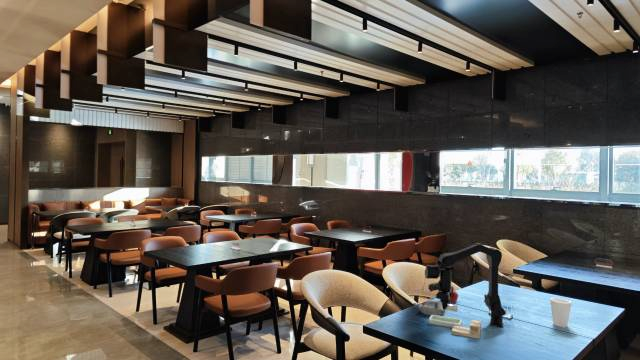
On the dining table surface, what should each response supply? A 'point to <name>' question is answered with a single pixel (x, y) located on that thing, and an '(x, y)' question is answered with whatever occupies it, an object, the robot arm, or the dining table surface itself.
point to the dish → (431, 309)
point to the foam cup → (560, 311)
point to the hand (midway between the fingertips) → (444, 308)
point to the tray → (444, 321)
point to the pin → (449, 307)
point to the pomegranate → (453, 296)
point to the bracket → (469, 330)
